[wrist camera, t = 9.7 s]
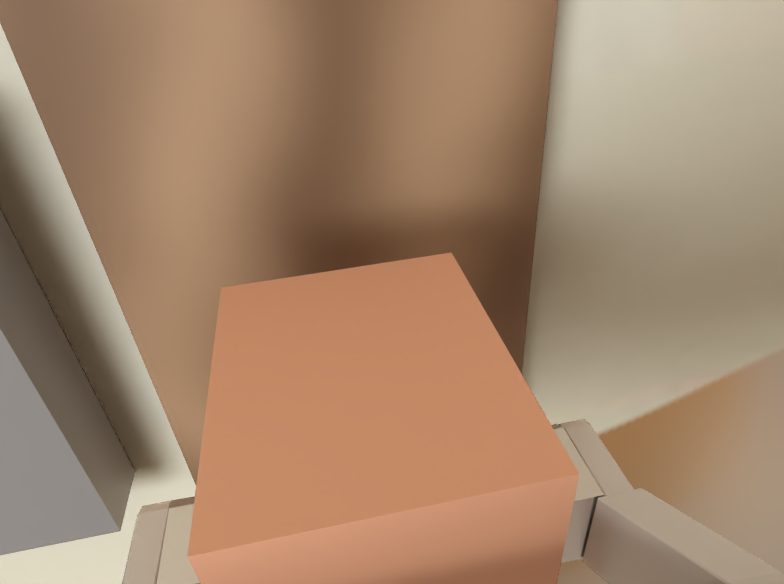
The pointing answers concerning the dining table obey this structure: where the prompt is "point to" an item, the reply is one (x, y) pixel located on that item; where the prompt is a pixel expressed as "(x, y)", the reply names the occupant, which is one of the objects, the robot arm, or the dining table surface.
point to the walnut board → (289, 151)
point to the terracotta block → (374, 438)
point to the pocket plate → (50, 425)
